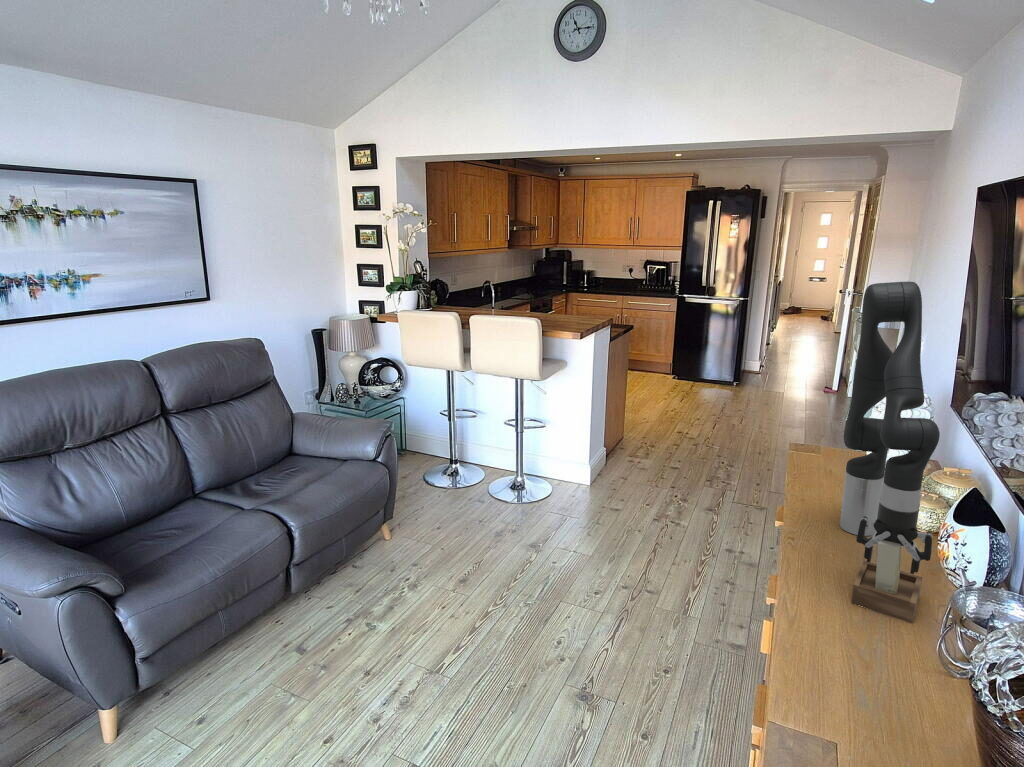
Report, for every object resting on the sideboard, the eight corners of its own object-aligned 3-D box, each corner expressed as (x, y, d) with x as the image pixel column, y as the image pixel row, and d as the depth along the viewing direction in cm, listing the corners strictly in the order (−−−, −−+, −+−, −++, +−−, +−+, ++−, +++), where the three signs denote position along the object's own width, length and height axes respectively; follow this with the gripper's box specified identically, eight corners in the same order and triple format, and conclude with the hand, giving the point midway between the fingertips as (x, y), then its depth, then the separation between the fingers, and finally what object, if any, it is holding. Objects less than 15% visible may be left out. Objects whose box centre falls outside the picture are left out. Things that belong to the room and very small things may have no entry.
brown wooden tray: (861, 579, 146) (863, 560, 145) (919, 597, 139) (922, 577, 137) (851, 604, 137) (853, 584, 136) (912, 625, 130) (915, 603, 128)
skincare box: (896, 595, 133) (900, 548, 130) (873, 589, 136) (877, 543, 133) (899, 581, 138) (903, 535, 135) (877, 576, 141) (880, 530, 138)
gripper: (939, 504, 129) (929, 568, 134) (865, 488, 138) (858, 549, 143) (936, 518, 124) (925, 585, 128) (859, 501, 133) (852, 564, 137)
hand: (890, 566), depth 135 cm, fingers open, 8 cm apart
